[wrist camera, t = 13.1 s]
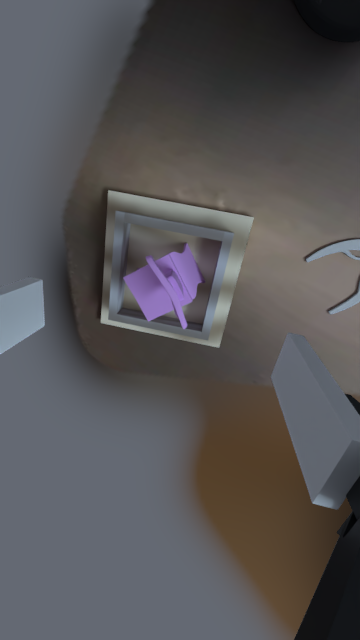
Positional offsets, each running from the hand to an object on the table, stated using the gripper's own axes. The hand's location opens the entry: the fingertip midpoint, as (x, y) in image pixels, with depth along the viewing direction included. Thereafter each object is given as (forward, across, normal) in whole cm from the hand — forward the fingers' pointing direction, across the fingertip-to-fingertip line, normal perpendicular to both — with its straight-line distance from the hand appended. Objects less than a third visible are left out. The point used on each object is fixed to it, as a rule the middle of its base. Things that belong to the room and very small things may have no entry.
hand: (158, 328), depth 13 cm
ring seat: (+26, -3, -4) cm, 26 cm away
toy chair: (+25, -3, -4) cm, 26 cm away
